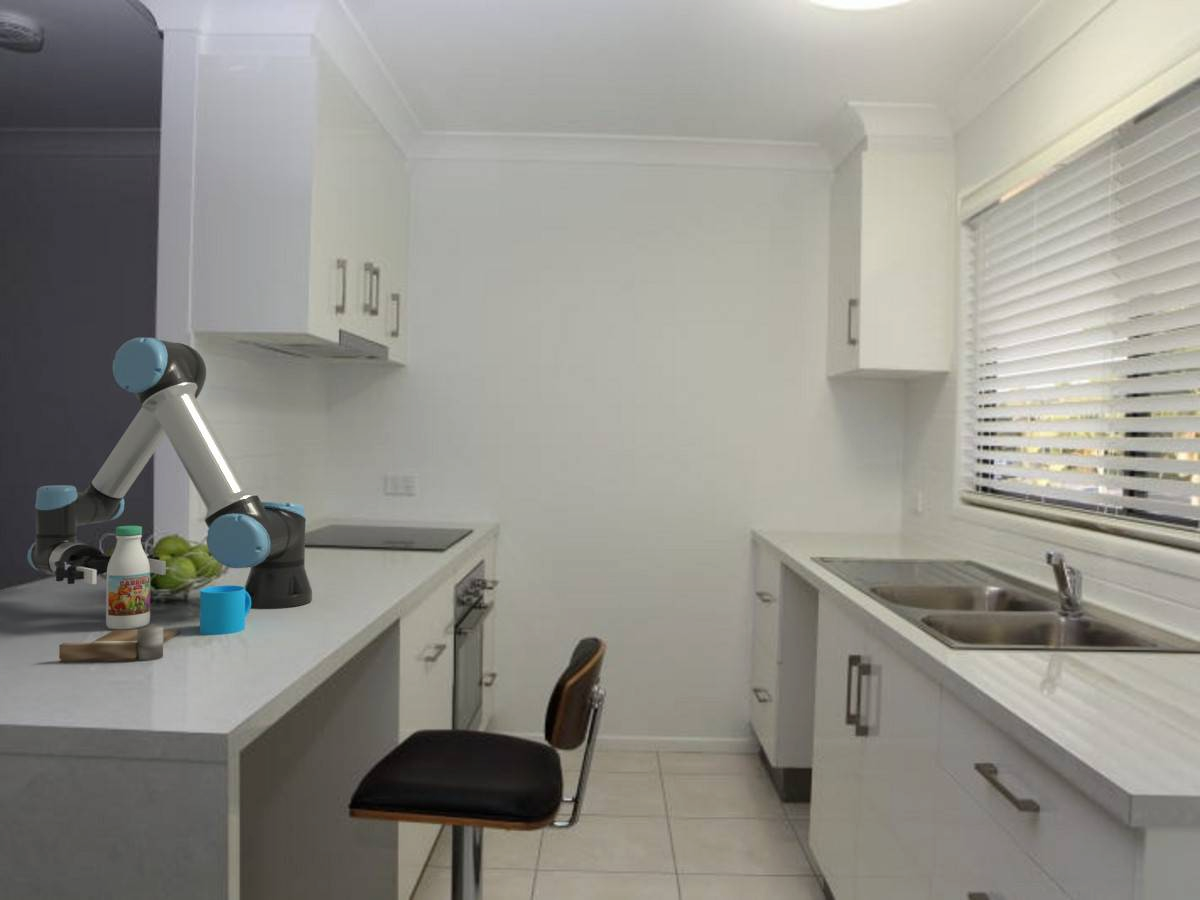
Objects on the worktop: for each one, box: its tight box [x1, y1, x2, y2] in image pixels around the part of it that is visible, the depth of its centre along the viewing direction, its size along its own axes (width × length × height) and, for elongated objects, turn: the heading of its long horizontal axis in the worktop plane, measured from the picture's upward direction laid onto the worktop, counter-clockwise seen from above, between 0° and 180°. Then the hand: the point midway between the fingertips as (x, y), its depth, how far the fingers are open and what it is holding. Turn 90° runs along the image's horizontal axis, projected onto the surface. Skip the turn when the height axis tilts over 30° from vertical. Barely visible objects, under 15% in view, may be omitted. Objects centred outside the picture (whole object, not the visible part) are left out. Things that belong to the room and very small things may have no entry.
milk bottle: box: [105, 525, 151, 630], centre depth 168 cm, size 8×8×20 cm
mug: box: [199, 584, 252, 636], centre depth 169 cm, size 12×8×8 cm
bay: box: [58, 625, 181, 663], centre depth 153 cm, size 16×21×5 cm
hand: (130, 572), depth 167 cm, fingers open, 13 cm apart
